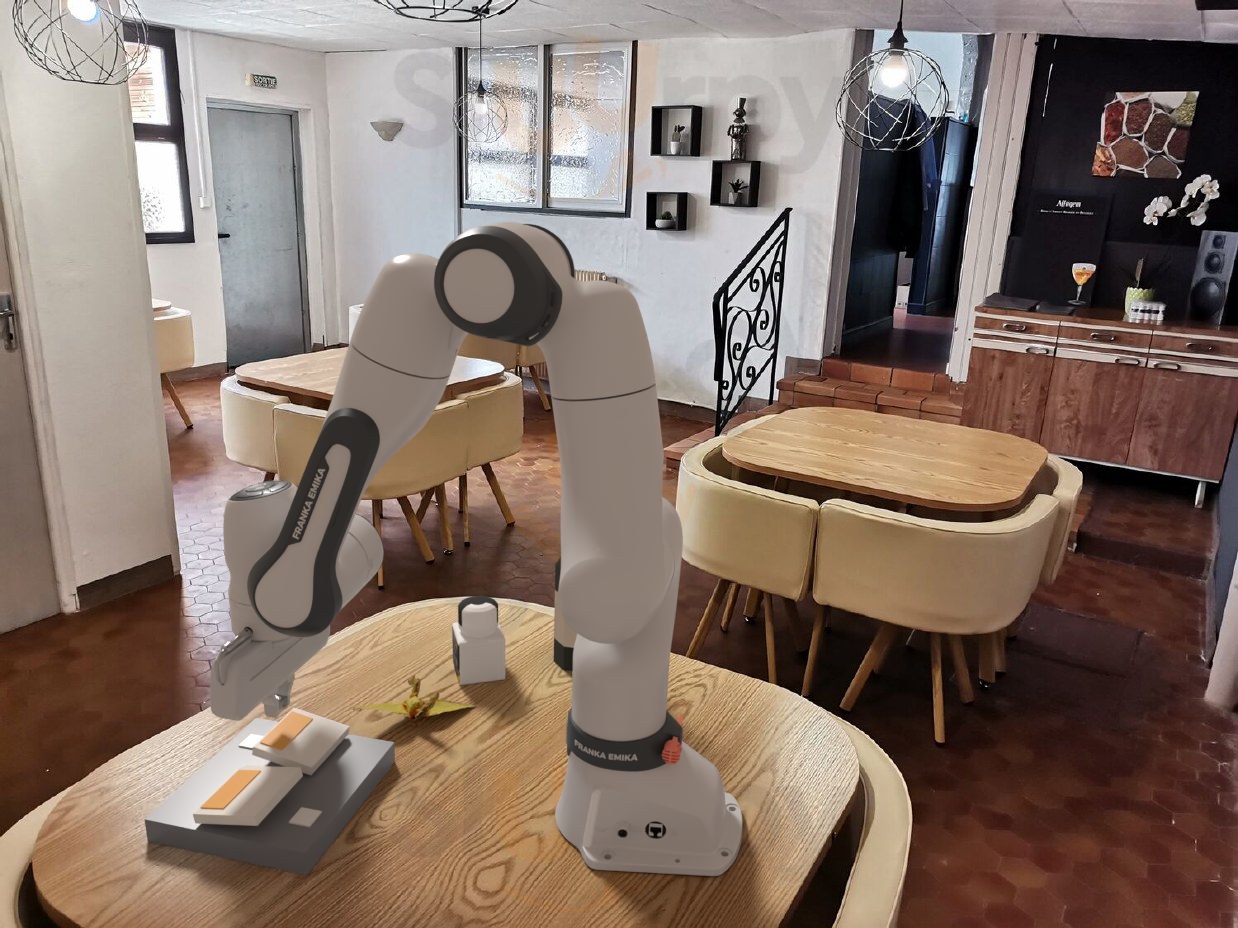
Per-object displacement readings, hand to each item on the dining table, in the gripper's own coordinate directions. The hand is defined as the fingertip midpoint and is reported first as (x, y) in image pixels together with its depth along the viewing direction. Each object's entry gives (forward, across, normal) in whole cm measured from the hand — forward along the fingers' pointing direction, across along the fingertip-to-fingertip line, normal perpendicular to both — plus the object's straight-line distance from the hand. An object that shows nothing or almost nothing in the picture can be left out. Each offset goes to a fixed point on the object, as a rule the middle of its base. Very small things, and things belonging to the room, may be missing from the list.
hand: (277, 711), depth 114 cm
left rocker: (+4, -11, -3) cm, 12 cm away
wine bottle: (+8, +38, -29) cm, 48 cm away
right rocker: (+4, 0, -3) cm, 5 cm away
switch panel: (+8, -6, -3) cm, 10 cm away
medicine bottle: (+8, +30, -15) cm, 34 cm away
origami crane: (+8, +15, -12) cm, 21 cm away
